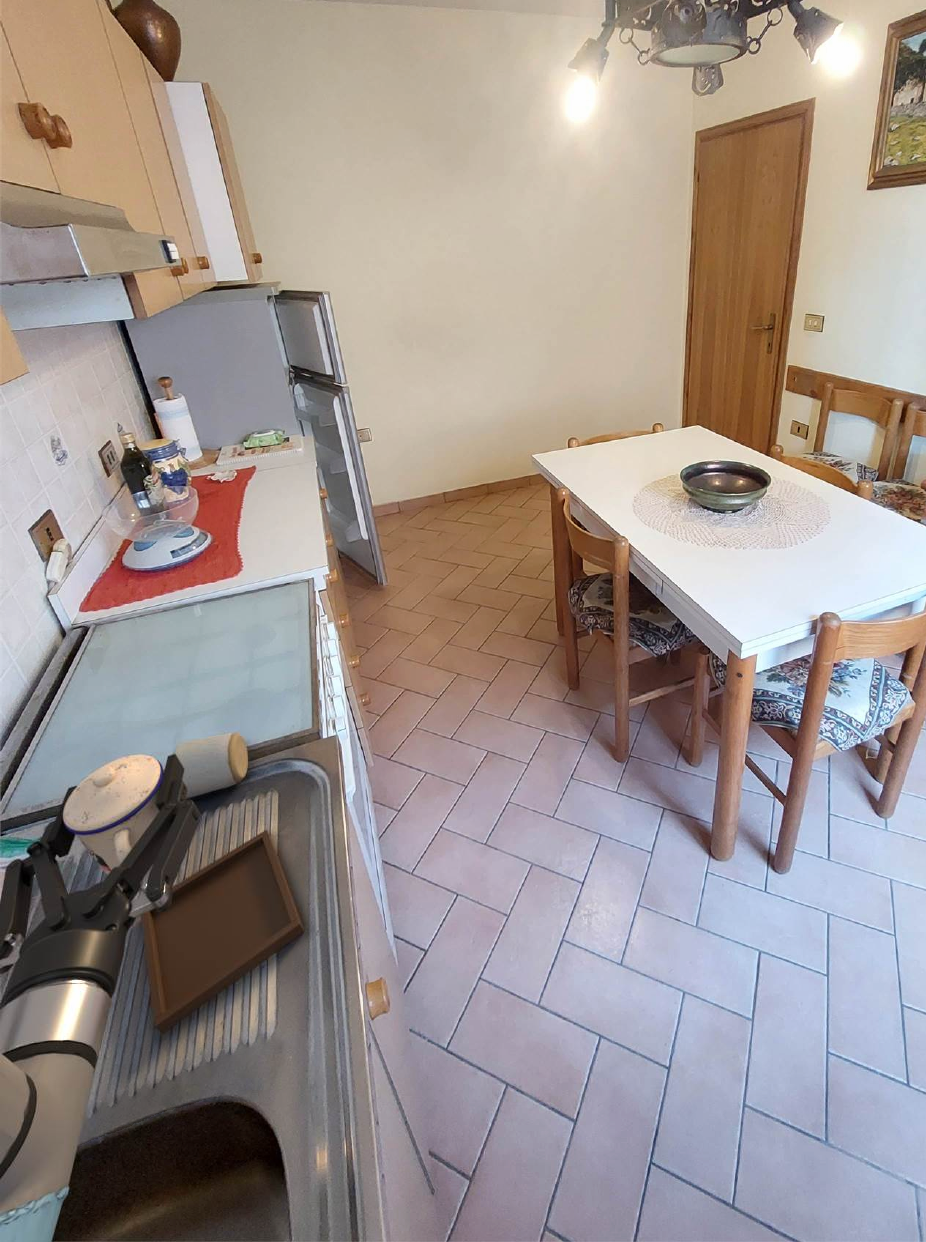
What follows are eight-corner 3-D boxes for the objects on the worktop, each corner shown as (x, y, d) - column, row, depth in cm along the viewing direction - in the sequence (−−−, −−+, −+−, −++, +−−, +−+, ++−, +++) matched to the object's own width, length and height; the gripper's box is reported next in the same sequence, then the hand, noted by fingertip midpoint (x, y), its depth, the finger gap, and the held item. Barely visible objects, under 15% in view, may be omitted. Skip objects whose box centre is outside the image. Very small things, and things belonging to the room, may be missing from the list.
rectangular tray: (146, 915, 70) (139, 907, 69) (271, 837, 77) (266, 829, 76) (161, 1035, 59) (154, 1027, 59) (304, 932, 67) (300, 923, 66)
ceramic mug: (246, 792, 83) (228, 756, 80) (184, 811, 82) (162, 775, 78) (256, 736, 92) (240, 701, 89) (200, 752, 91) (181, 717, 87)
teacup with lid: (101, 833, 67) (51, 766, 62) (188, 790, 72) (149, 723, 66) (99, 925, 58) (41, 857, 53) (199, 869, 63) (155, 801, 57)
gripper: (-81, 1094, 45) (32, 837, 64) (221, 968, 51) (243, 765, 70) (-145, 1054, 42) (-6, 793, 61) (187, 922, 48) (221, 722, 66)
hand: (128, 778), depth 65 cm, fingers closed on teacup with lid, 9 cm apart
